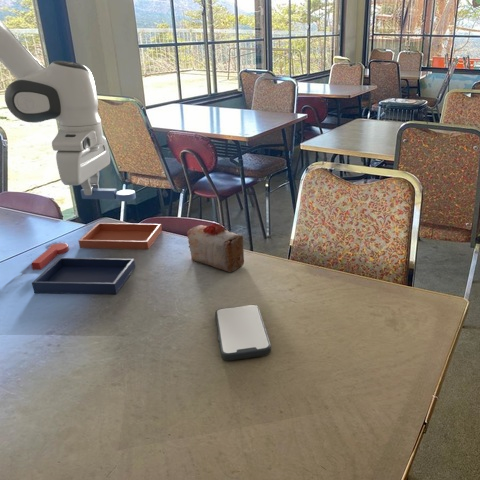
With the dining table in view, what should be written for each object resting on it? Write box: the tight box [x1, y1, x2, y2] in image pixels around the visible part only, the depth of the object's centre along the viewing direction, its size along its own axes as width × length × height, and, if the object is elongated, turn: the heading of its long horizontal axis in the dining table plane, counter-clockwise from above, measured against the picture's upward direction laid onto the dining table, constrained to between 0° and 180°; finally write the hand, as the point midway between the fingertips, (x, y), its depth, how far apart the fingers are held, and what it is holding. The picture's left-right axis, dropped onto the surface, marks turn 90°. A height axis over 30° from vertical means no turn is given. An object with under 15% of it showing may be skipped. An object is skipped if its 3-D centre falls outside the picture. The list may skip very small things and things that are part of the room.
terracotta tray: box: [78, 222, 163, 250], centre depth 127 cm, size 17×12×2 cm
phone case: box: [214, 304, 272, 362], centre depth 89 cm, size 9×2×16 cm
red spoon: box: [31, 242, 70, 271], centre depth 116 cm, size 13×5×2 cm, turn 1°
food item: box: [187, 221, 245, 273], centre depth 115 cm, size 14×8×10 cm, turn 59°
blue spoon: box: [80, 187, 137, 202], centre depth 117 cm, size 13×5×2 cm, turn 91°
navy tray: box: [31, 257, 136, 295], centre depth 107 cm, size 17×12×2 cm
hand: (91, 192), depth 117 cm, fingers closed on blue spoon, 2 cm apart
